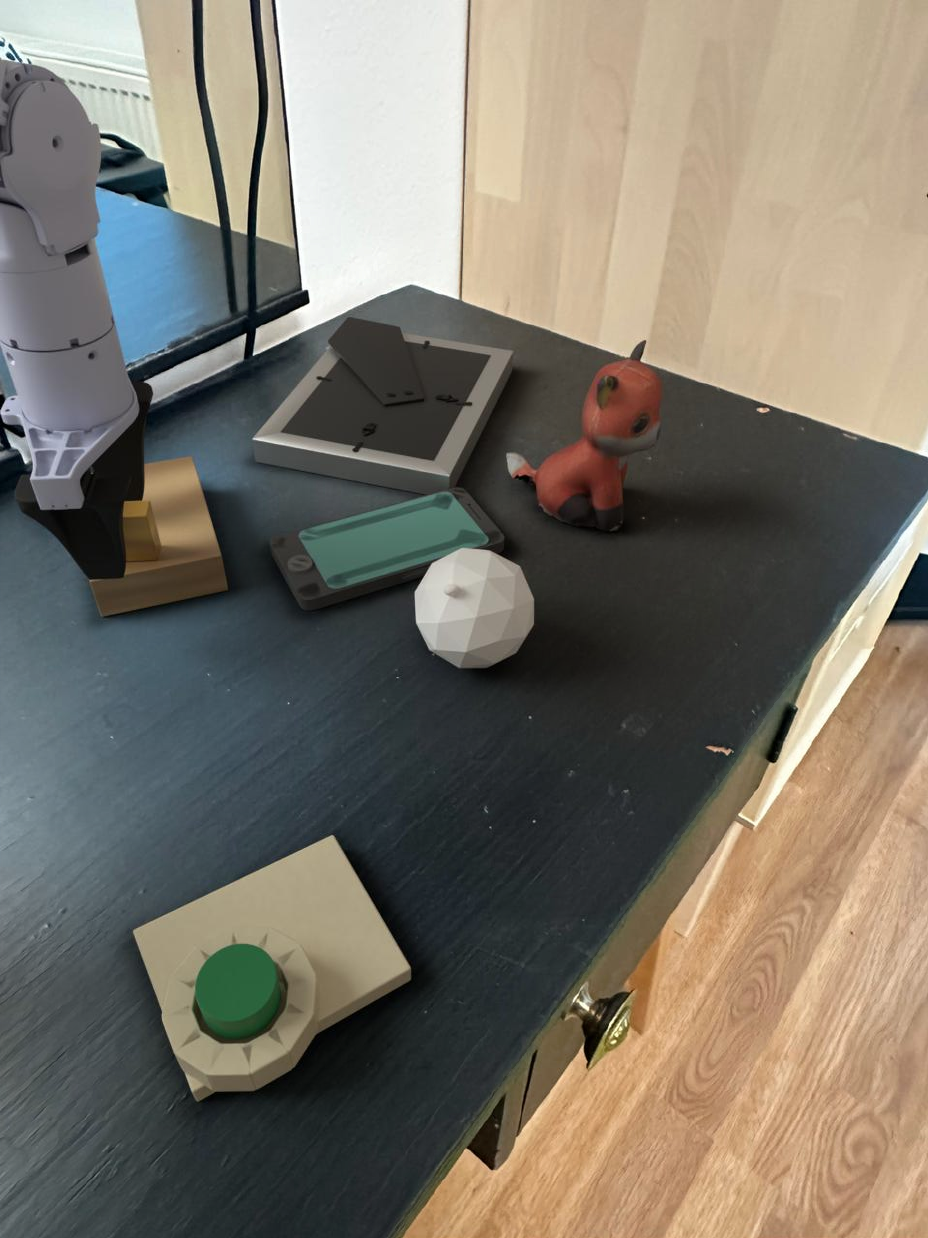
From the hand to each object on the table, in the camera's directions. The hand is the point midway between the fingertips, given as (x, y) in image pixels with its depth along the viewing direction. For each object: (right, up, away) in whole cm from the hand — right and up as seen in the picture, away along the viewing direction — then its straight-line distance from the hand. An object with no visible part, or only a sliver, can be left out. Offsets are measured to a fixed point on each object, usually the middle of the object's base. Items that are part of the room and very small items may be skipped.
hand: (117, 535), depth 55 cm
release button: (+12, -21, -19) cm, 31 cm away
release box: (+13, -21, -15) cm, 29 cm away
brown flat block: (0, 0, +6) cm, 6 cm away
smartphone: (+16, -1, +7) cm, 18 cm away
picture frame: (+16, +12, +20) cm, 28 cm away
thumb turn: (0, -1, +1) cm, 2 cm away
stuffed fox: (+30, +4, +13) cm, 32 cm away
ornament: (+22, -7, 0) cm, 23 cm away
